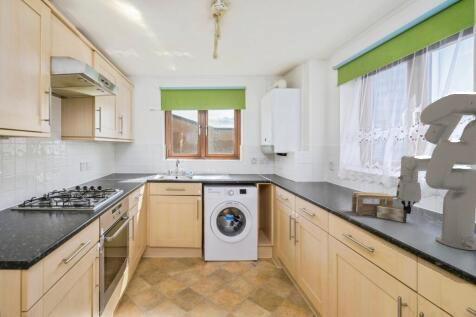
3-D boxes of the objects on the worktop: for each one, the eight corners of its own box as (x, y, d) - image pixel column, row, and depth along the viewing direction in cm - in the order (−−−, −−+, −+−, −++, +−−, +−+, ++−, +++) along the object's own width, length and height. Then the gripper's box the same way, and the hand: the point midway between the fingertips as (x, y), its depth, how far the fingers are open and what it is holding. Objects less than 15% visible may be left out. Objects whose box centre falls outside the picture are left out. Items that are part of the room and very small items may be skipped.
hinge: (407, 208, 149) (410, 195, 145) (411, 212, 145) (415, 199, 141) (379, 206, 152) (382, 193, 148) (382, 210, 148) (385, 197, 144)
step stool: (392, 217, 128) (393, 196, 128) (358, 215, 130) (359, 194, 130) (382, 212, 138) (383, 192, 138) (351, 211, 140) (352, 191, 139)
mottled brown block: (374, 216, 128) (374, 206, 128) (375, 216, 129) (375, 205, 129) (406, 222, 119) (406, 211, 118) (406, 221, 120) (406, 210, 120)
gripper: (397, 179, 118) (396, 214, 119) (429, 180, 116) (427, 216, 117) (389, 177, 125) (388, 210, 126) (419, 178, 124) (417, 211, 125)
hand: (407, 213), depth 122 cm, fingers closed
